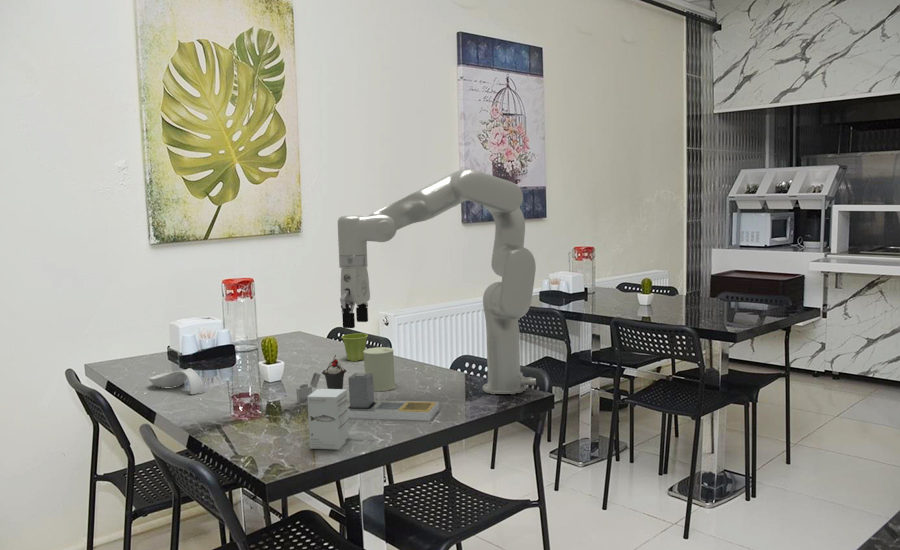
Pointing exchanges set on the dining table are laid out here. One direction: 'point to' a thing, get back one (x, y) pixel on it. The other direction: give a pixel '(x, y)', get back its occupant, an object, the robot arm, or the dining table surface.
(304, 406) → the dining table surface
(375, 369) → the can
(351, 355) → the plant pot
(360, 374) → the gray rectangular block
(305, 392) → the lighter
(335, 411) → the supplement box
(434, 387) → the dining table surface
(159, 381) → the spoon rest
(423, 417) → the gray compartment tray
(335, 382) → the sundae
